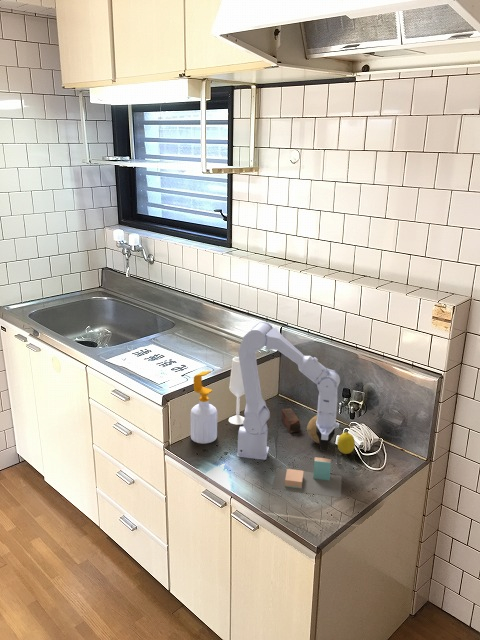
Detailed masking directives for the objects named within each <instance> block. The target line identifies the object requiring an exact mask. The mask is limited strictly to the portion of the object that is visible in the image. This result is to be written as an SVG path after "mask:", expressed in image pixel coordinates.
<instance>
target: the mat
mask: <svg viewBox="0 0 480 640" xmlns="http://www.w3.org/2000/svg"><path fill="white" fill-rule="evenodd" d="M287 469H288V468H280V467H279V468H278V467H277V468H276V470H275V474H274V478H273V483H272V489H273V490H280V491H281V490H282V491H288V492H296V493H304V494H311V495H319V496H326V497H333V498H342V475H335V474H330V480H322V479H314V478H313V473H314V472H311V471H304V473H303V482H302V489H301V488H294V487H286V486H285V478H286V472H287Z"/></svg>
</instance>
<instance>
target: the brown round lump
mask: <svg viewBox="0 0 480 640" xmlns="http://www.w3.org/2000/svg"><path fill="white" fill-rule="evenodd" d="M316 421H317V414H316V415H314V416H312V418H310V420H309V421H308V423H307V426H306V432H307V435H309V436H310V438H311V439H312V441H314V442H315V443H316V444H319V445H320V443H319V438H318V436H317V434H316V428H317V426H316ZM333 438H334V436H333V437H332V439H333Z"/></svg>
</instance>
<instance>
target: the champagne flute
mask: <svg viewBox="0 0 480 640" xmlns="http://www.w3.org/2000/svg"><path fill="white" fill-rule="evenodd" d="M228 388H229V391H230V392H231V393H232V394H233V395H234V396H235V397H236V405H235V406H236V407H235V408H236V409H235V412H236V413H235V415H233V416H230V417H229V418H228V422H229V423H230V424H233V425H243V421H244V418H245V416H242V415H240V412H241V411H240V405H241V397H242V396H243V395H245V392H244V386H243V380H242V373H241V367H240V361H239V356H235V357H233V358H232V361H231V369H230V379H229V386H228Z"/></svg>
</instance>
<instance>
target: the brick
mask: <svg viewBox="0 0 480 640" xmlns="http://www.w3.org/2000/svg"><path fill="white" fill-rule="evenodd" d="M280 414H281V415H280V417H281V421H282V423H283V425H284V427H285V428H286V430H287V431H288V433H300V431H301V422H300V419H299V417H298V416H297V414H296V413H295V412H294V410H293V408H291V407H289V408H281V413H280Z"/></svg>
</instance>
